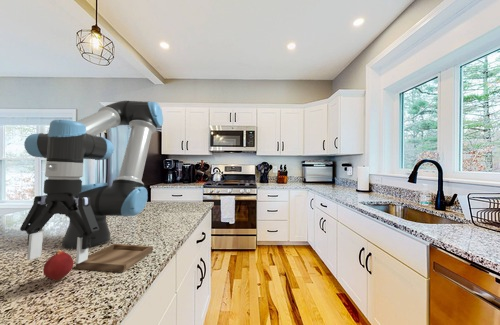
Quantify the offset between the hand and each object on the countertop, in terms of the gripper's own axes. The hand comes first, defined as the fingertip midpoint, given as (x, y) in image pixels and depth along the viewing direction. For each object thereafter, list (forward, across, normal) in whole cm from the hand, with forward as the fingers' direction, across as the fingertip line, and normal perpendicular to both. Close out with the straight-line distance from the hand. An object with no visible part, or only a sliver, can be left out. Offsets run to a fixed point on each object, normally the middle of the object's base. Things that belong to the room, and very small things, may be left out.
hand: (57, 259), depth 54 cm
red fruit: (+6, 0, +1) cm, 6 cm away
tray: (+5, +6, +15) cm, 17 cm away
